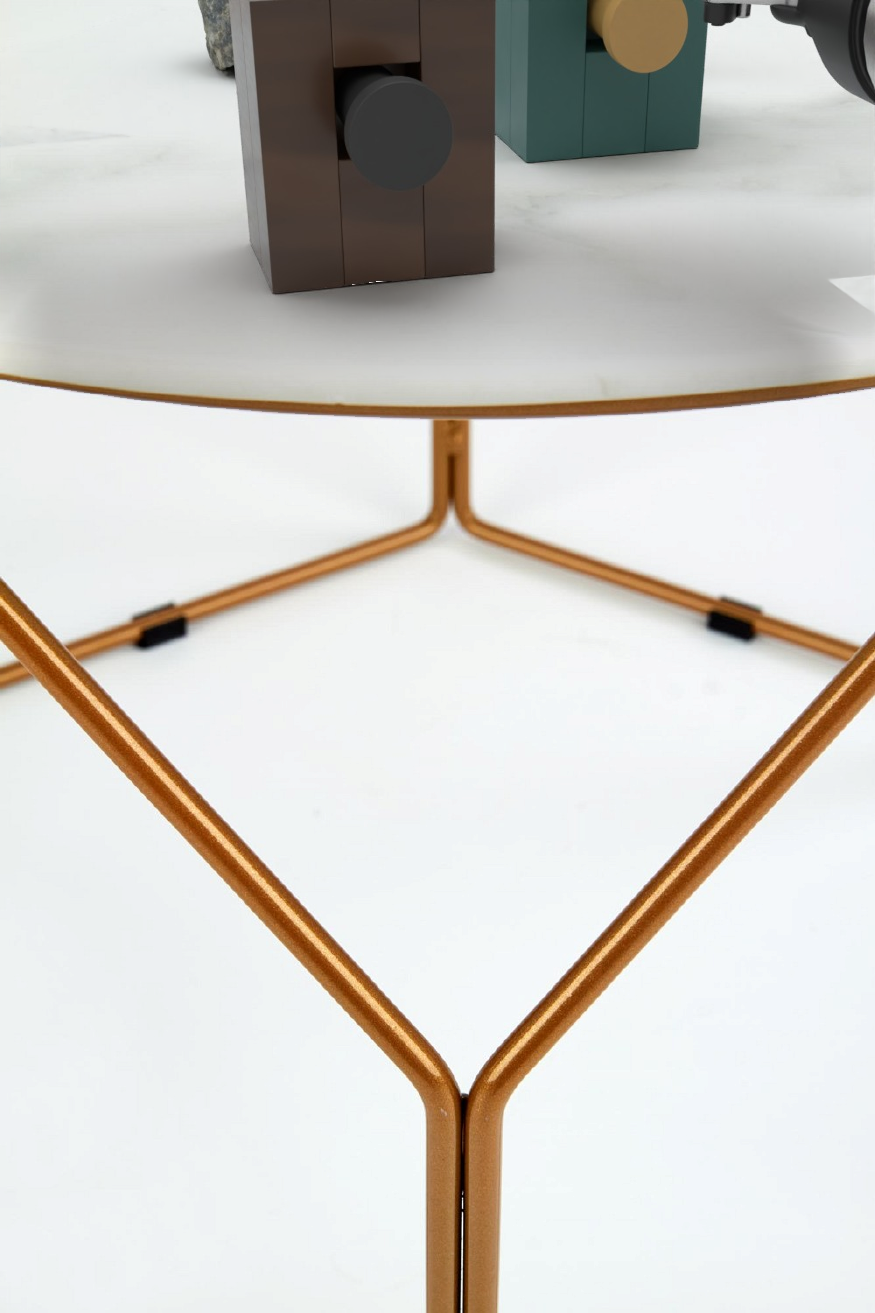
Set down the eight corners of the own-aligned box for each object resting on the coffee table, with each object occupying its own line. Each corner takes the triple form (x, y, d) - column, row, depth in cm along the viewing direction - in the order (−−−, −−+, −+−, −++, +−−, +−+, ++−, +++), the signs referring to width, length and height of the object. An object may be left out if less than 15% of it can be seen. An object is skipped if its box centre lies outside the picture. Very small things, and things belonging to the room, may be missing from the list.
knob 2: (567, 49, 89) (569, -35, 87) (640, 44, 90) (644, -40, 87) (607, 75, 83) (611, -14, 81) (685, 69, 84) (691, -19, 82)
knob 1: (322, 153, 71) (316, 50, 68) (416, 145, 72) (414, 43, 69) (351, 196, 65) (346, 85, 63) (454, 186, 66) (453, 77, 64)
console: (490, 129, 96) (490, -96, 89) (652, 116, 98) (665, -105, 91) (526, 162, 90) (529, -78, 82) (698, 147, 92) (716, -88, 84)
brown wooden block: (249, 242, 78) (225, -30, 71) (454, 223, 80) (451, -43, 73) (272, 293, 72) (249, 1, 64) (494, 271, 74) (496, -15, 66)
